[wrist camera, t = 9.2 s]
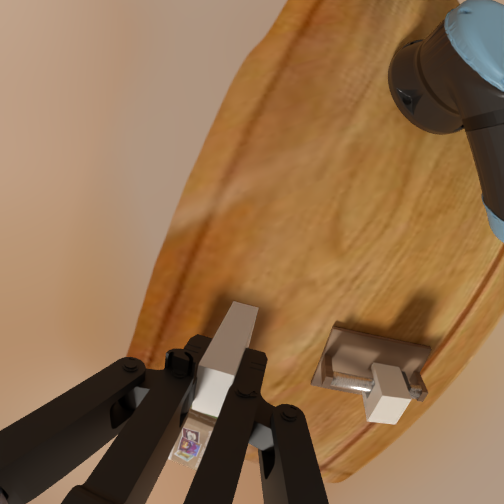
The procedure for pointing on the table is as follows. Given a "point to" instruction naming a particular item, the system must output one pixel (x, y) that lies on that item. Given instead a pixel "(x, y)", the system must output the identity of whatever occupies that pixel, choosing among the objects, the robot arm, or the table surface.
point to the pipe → (364, 384)
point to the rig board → (368, 358)
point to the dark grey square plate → (406, 380)
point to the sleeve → (386, 395)
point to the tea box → (193, 439)
